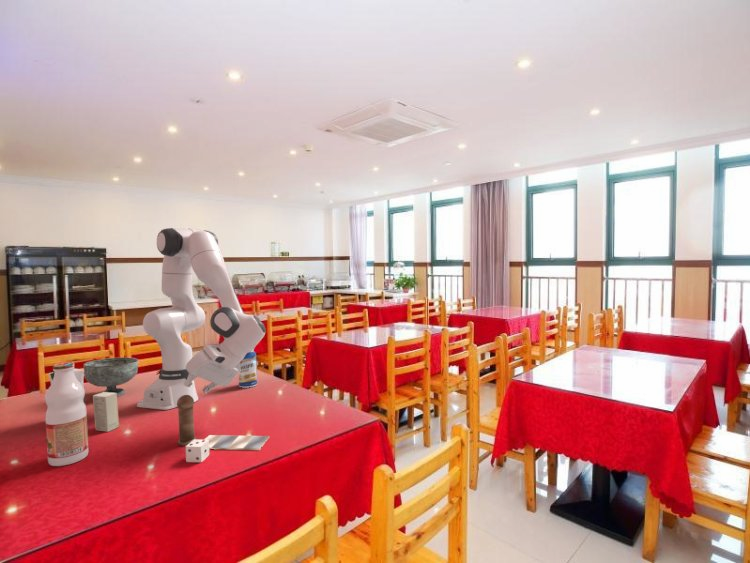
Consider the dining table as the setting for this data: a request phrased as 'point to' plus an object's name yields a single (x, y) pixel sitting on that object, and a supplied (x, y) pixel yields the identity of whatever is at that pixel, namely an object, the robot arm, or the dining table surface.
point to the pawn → (186, 420)
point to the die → (197, 450)
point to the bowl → (111, 372)
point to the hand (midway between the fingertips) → (195, 388)
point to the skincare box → (106, 411)
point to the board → (236, 442)
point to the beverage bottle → (248, 370)
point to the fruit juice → (66, 417)
